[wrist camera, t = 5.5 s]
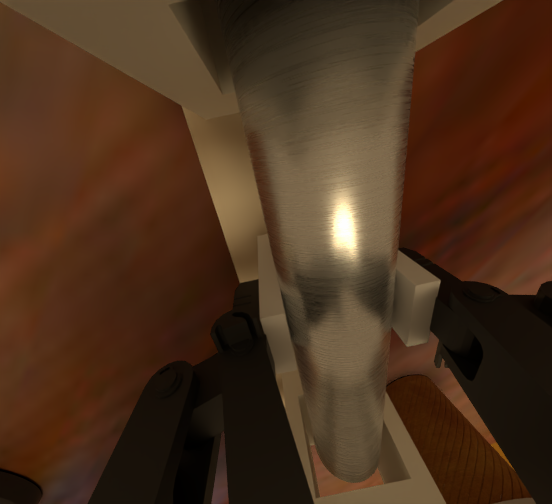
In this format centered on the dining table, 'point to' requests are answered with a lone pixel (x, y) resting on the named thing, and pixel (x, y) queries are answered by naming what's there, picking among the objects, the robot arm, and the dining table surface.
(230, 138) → the board
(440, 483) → the disposable coffee cup
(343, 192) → the tube
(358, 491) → the sleeve
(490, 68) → the dining table surface
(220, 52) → the socket
